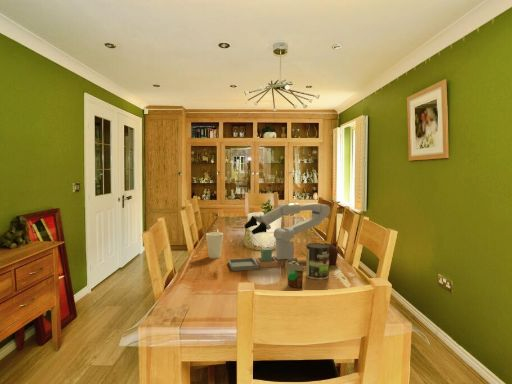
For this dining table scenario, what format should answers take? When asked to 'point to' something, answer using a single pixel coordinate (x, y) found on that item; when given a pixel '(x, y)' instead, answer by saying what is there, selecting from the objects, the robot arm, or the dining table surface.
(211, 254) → the foam cup
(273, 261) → the orange square frame
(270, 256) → the teal block
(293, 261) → the food container
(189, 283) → the dining table surface
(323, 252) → the coffee can
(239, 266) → the slate tray
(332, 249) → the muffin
